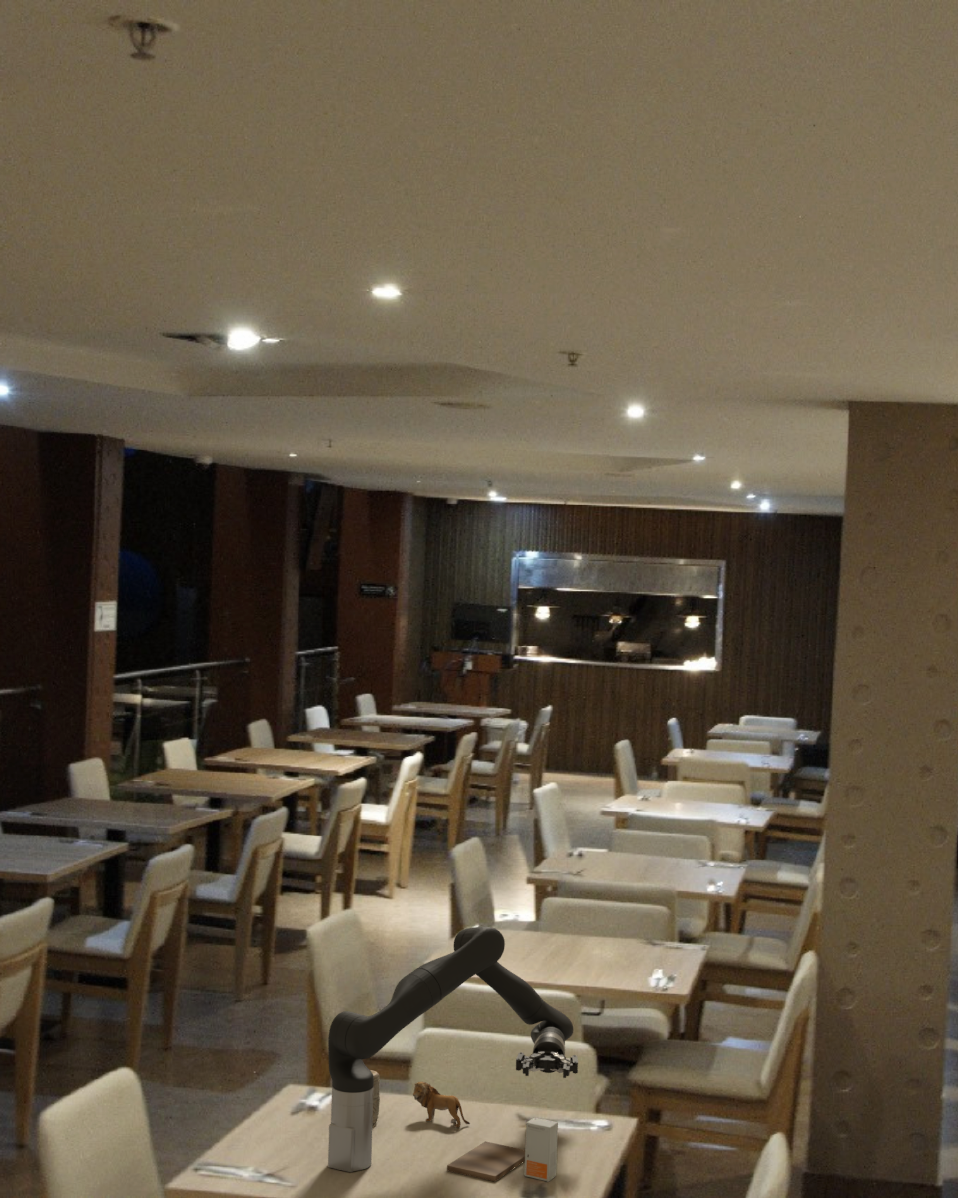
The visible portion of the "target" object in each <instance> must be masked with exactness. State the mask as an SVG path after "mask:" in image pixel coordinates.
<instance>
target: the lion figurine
mask: <svg viewBox="0 0 958 1198" xmlns="http://www.w3.org/2000/svg"><path fill="white" fill-rule="evenodd" d="M413 1088H414V1089H413V1093H412V1097H413V1098H414V1100H415V1101H417V1103H420V1105H421V1107H422V1108H425V1109H426V1111H427V1112H426V1113H427V1115H428V1117H426V1119H425V1122H427V1121H430V1122H431V1121H432V1120H433V1119H434V1117H435V1113H436V1110H439V1111H446V1110H448V1112H449V1115H450V1116H451V1117H452V1118H451V1120H450V1122H452V1123H455V1124H454V1127H455V1128H460V1127H461V1119H462V1121H463V1123H465V1125H470V1124H471V1123H470V1122H469V1121H468V1120H466V1119H465V1116H464V1114H463V1109H462V1105H461V1102H460V1100H459V1098H458V1097H456V1096H455V1095H444V1094H441V1093H440V1092H439V1091H438V1089H436V1088H435V1087H434V1086H432V1085H431V1084H429V1083H427V1082H425V1081H418V1082H416V1083H414V1087H413ZM458 1111H459V1112H458ZM458 1113H459V1114H460V1116H461V1118H460V1116H459V1115H458Z"/></svg>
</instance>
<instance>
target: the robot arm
mask: <svg viewBox="0 0 958 1198" xmlns="http://www.w3.org/2000/svg"><path fill="white" fill-rule="evenodd" d="M505 942H506V941H505V937H504V935H503V933H501V931H499V930H498V929H496V927H492V926H475V927H474V926H473V927H469V928H468V927H467V928H463V929H462V930H460V931H458V932H457V934H455V937H454V940H453V951H452V952H450V953H448V954H445V955H443V956H440V957H438V958H435V959H432V960H430V961H428V962H426V963H423V964H422V965H420V966H418V967H417V968H415V969H413V970H412V971H411V972H410V973H408V974H407V975H405V976H404V977H403V978H401V980H400V981H398V982H397V984H396V986H395V988H394V991H393V994H392V997H391V999H390V1002H389V1003H388V1004H387V1005H386V1006H384V1007H382V1009H380V1010H379V1011H377V1012H375V1013H374V1014H372V1015H364V1014H361V1013H357V1012H354V1011H348V1010H346V1011H341V1012H339V1013H337V1015H335V1017H334V1018H333V1020H332V1021H331V1024H330V1027H329V1030H328V1041H327V1043H328V1044H327V1047H328V1050H327V1051H328V1071H329V1072H328V1073H329V1076H330V1078H331V1102H330V1103H331V1104H330V1105H331V1106H330V1107H331V1108H330V1112H331V1113H330V1124H329V1125H328V1150H327V1152H328V1153H327V1155H328V1157H327V1161H328V1162H327V1168H331V1169H334V1170H340V1171H343V1172H348V1173H353V1172H355V1171H363V1170H365V1169H368V1168H369V1167H370V1166H371V1165H372V1157H373V1156H372V1155H373V1124H372V1122H373V1088H374V1076H373V1073H372V1072H371V1071H370V1070H371V1069H369V1068H368V1066H366V1064H365V1063H364V1060H367V1059H370V1058H371V1057H373V1056H375V1055H376V1054H378V1052H380V1051H381V1050H382V1049H383V1048H384V1047H385V1046H386V1045H387V1044H388V1043H389V1042H390V1041H392V1039H393V1038H395V1037H396V1036H397V1035H398V1034H400V1032H401V1031H403V1029H405V1028H406V1027H407V1026H408V1025H410V1024H411V1023H413V1022H414V1021H415V1020H416V1019H418V1018H419V1017H420V1016H422V1014H424V1013H426V1012H427V1011H429V1010H430V1009H432V1008H433V1007H435V1006H436V1005H437V1004H439V1003H440V1002H441V1001H442V1000H443V999H445V997H447V996H449V995H450V994H451V993H452V992H454V991H455V990H456V989H458V988H459V987H460V986H462V985H463V984H464V983H465V982H466V981H468V980H470V979H471V978H472V977H474V976H477V977H478V978H479V979H480V980H482V981H483V982H484V983H485V984H486V985H488V986H489V987H490V988H491V989H492V990H494V991H495V992H496V993H497V994H498V995H499V996H500V997H501V998H502V999H503V1000H504V1001H505V1002H506V1003H507V1004H508V1005H509V1006H510V1008H511V1009H512V1010H513V1011H514V1012H515V1013H516V1015H517V1016H518V1017H519V1018H520V1019H521V1020H522V1021H523V1023H525V1024H526V1025H529V1026H533V1025H535V1026H534V1027H533V1028H532V1029H531V1032H530V1037H531V1041H532V1043H533V1049H532V1054H530V1055H529V1056H528V1055H527V1056H526V1054H525V1053H524V1052H521V1051H520V1052H518V1054H517V1056H516V1058H515V1070H516V1071H521V1070H522V1074H523V1075H524V1076H525V1077H529V1074H530V1072H534V1073H535V1072H537V1071H540V1072H542V1073H546V1074H552V1073H555V1072H557V1073H559V1074H561V1073H562V1078H563V1079H566V1078H567V1077H569V1076H570V1074H571V1072H572V1074H574V1075H575V1074H576V1075H577V1074H578V1073H579V1070H578V1069H579V1067H578V1066H579V1059H578V1058H579V1057H578V1055H577V1054H573V1055H571V1056H570V1058H569V1057H568V1058H567V1057H566V1041H567V1040H569V1039H570V1038H571V1037H572V1036H573V1034H574V1025H573V1023H572V1021H571V1019H570V1018H569V1017H568V1016H567V1015H566V1014H564V1012H562V1011H560V1010H558V1009H556V1008H554V1007H553V1006H552V1005H550V1004H549V1003H547V1002H546V1001H545V1000H544V999H543V998H542V997H541V996H540V995H539V994H538V993H537V991H536V990H535V989H534V987H532V986H531V985H530V984H529V983H528V982H527V981H526V980H525V979H523V978H522V977H520V976H518V975H517V974H515V973H514V972H512V971H511V970H509V969H508V968H506V967H504V966H503V965H502V964H500V963H499V962H498V961H499V960H500V959H501V957H502V956H503V953H504V951H505V947H506V946H505V945H506V943H505Z"/></svg>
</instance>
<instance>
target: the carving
mask: <svg viewBox="0 0 958 1198" xmlns="http://www.w3.org/2000/svg"><path fill="white" fill-rule="evenodd" d="M369 1070H370V1071H371V1072H372V1073H373V1076H374V1088H373V1122H372V1125H375V1124H376V1123H377V1122H378V1119H379V1115H380V1114H379V1113H380V1103H381V1102H380V1101H381V1100H380V1099H381V1097H380V1080H381V1079H380V1074H379V1072H378V1071H376V1070H372V1069H369Z"/></svg>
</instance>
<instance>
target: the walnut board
mask: <svg viewBox="0 0 958 1198" xmlns="http://www.w3.org/2000/svg"><path fill="white" fill-rule="evenodd" d="M524 1161H525V1149H523V1148H517V1147H514V1146H507V1145H503V1144H499V1143H494V1142H490V1141H484V1142H482V1143H480V1144H479V1145H477V1146H476V1147H474V1148H472V1149H471V1150H469V1151H468V1152H465V1154H463V1155H462V1156H460V1157H458V1158H457V1159H455V1160H453V1161H452V1162H450V1163H448V1164H447V1165H446V1171H447V1172H451V1173H455V1174H459V1175H464V1176H469V1177H473V1178H477V1179H481V1180H486V1181H491V1182H494V1183H495V1182H497V1181H499V1180H500V1179H501V1178H503V1177H504V1176H506V1175H507V1174H509V1173H510V1172H511V1171H510V1170H512V1169H513V1168H514V1167H516V1168H518V1167H519V1166H520V1165H522V1164H523V1163H525V1162H524ZM522 1162H523V1163H522ZM521 1163H522V1164H521ZM519 1164H520V1165H519ZM518 1165H519V1166H518ZM514 1169H515V1168H514ZM514 1169H513V1170H514ZM513 1170H512V1171H513ZM509 1171H510V1172H509ZM508 1172H509V1173H508ZM503 1175H504V1176H503ZM502 1176H503V1177H502Z"/></svg>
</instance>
